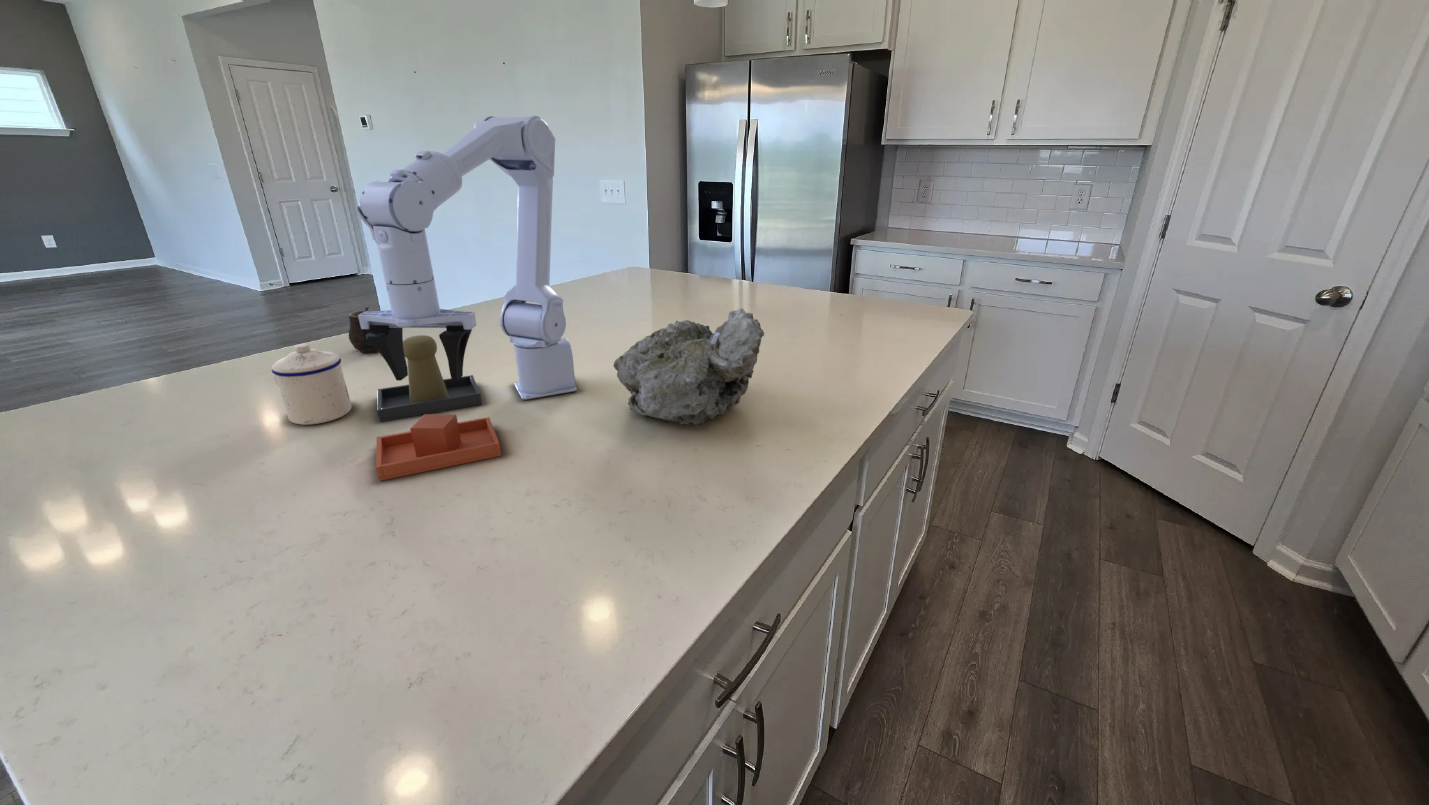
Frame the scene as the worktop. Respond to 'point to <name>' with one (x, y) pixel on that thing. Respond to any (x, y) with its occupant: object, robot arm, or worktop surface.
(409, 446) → the terracotta tray
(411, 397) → the cork
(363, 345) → the mate gourd
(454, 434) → the terracotta block
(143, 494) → the worktop surface
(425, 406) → the charcoal tray
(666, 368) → the rock
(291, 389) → the lidded enamel canister
